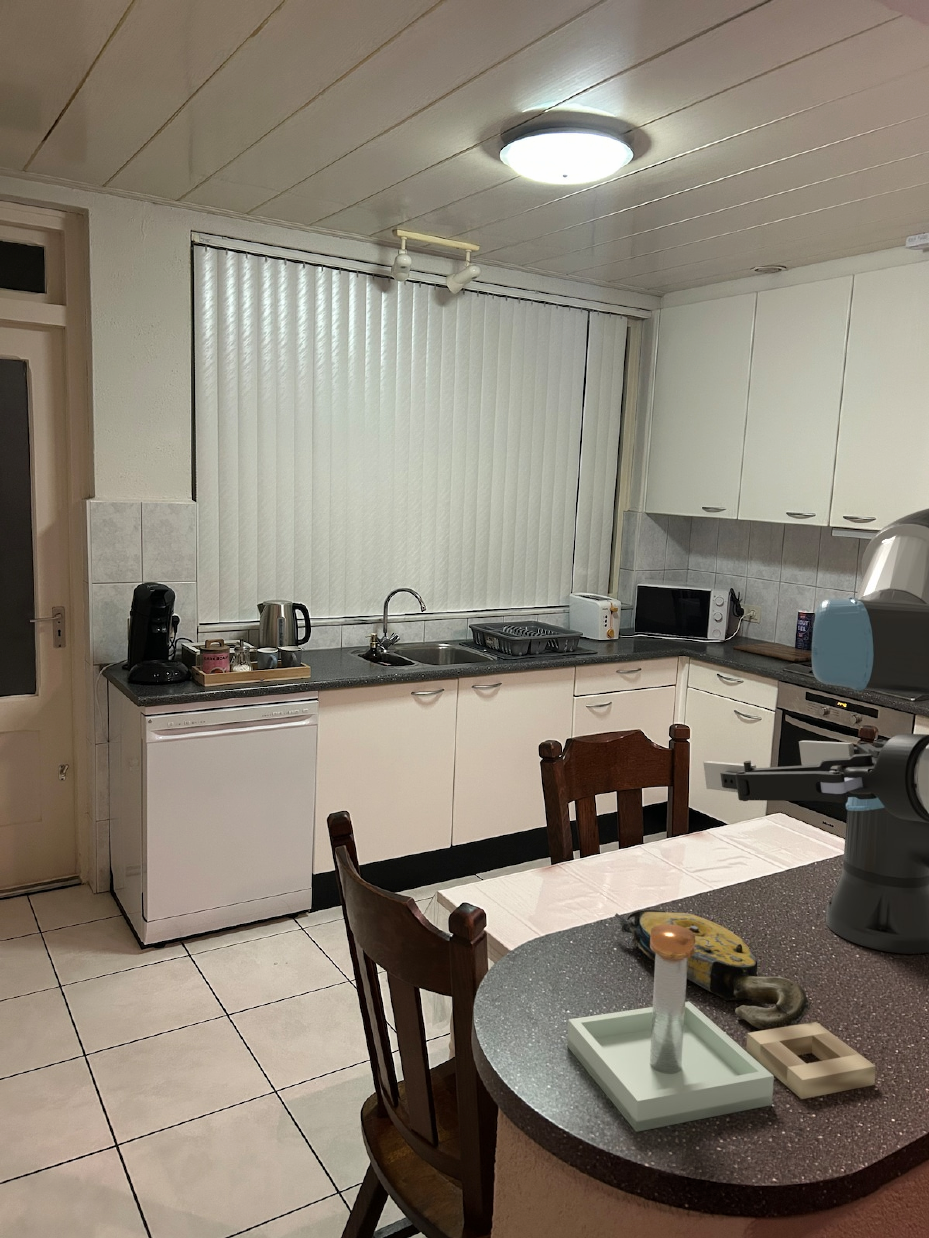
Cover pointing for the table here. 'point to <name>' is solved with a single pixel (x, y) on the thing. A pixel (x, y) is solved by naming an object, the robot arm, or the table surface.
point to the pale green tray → (652, 1099)
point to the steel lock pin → (669, 995)
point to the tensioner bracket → (813, 1079)
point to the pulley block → (725, 968)
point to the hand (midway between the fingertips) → (756, 763)
